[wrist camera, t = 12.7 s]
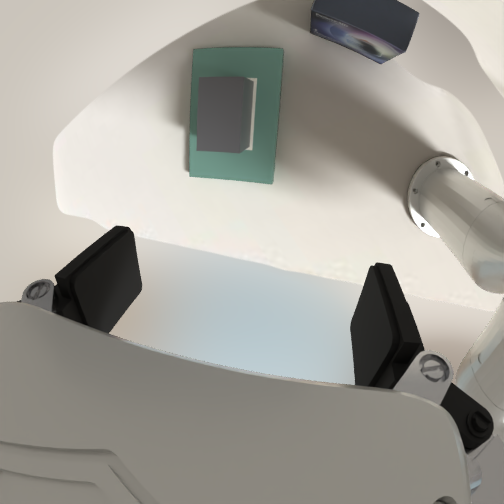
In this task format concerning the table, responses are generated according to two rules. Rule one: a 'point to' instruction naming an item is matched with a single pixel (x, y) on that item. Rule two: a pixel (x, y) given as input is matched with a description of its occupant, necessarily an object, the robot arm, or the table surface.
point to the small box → (365, 26)
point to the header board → (263, 112)
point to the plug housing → (224, 114)
